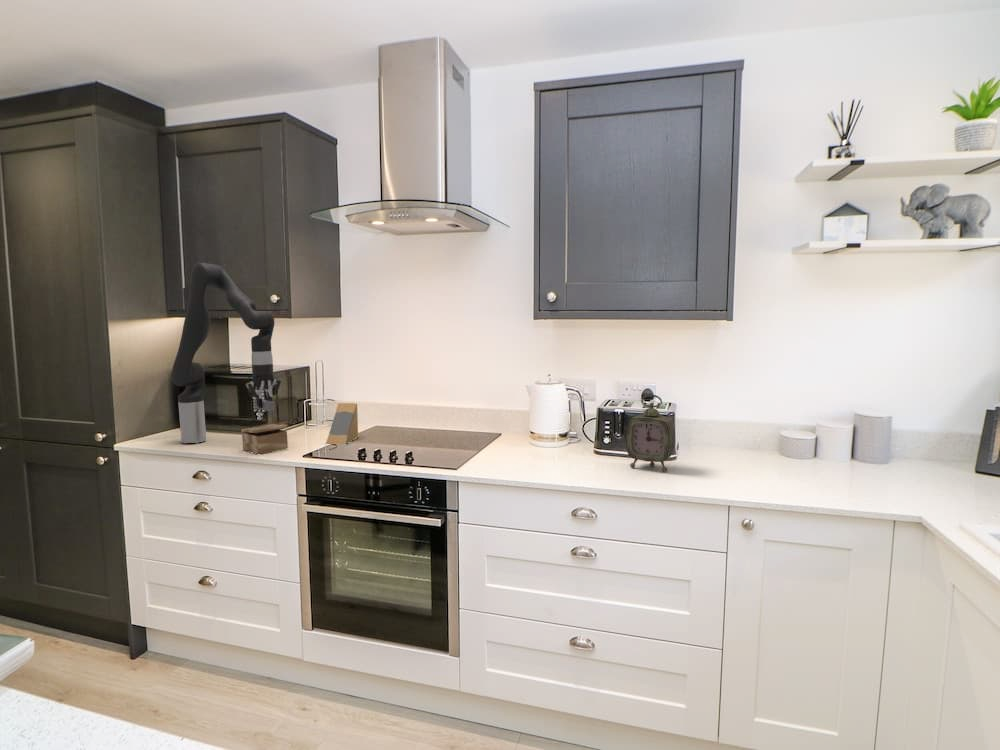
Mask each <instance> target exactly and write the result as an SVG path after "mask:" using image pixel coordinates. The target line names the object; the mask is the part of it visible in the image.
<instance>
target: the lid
mask: <svg viewBox="0 0 1000 750" xmlns="http://www.w3.org/2000/svg"><path fill="white" fill-rule="evenodd" d="M286 428H288V424H273V423H272V424H271V423H270V424H265V425H260V426H253V427H248V428H243V429H241V430H240V431H241V433H243V432H250V433H259V432H265V431H270V430H276V429H279V430H282V429H286Z"/></svg>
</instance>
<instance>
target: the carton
mask: <svg viewBox="0 0 1000 750" xmlns="http://www.w3.org/2000/svg"><path fill="white" fill-rule="evenodd" d="M241 438H242V450H243V451H244V450H246V451H245V452H247V451H250V452H249V453H251V452H253V453H252V454H254V453H256V454H255V455H257V454H261V455H263V454H262V453H265V454H267V453H266V452H270V453H273V452H272V451H275V452H277V451H276V450H280V451H283V450H282V449H284V450H288V449H289V446H288V431H287V430H283V429H276V430H270V431H265V432H259V433H250V432H241ZM287 448H288V449H287Z"/></svg>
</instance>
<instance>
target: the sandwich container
mask: <svg viewBox="0 0 1000 750" xmlns="http://www.w3.org/2000/svg"><path fill="white" fill-rule="evenodd" d="M335 409H336V410H335V413H334V417H333V420H332V424H331V427H330V429H329V432H328V436H327V439H326V442H325V445H326V444H346V443H348V442H350V441H351V440H353V439H354V438H356V437H357V436H358V437H359V427H358V426H359V420H358V418H359V417H358V403H354V402H353V403H351V402H350V403H349V402H338V403H337V406H336V408H335ZM356 439H357V438H356ZM353 441H354V440H353ZM350 443H351V442H350ZM348 444H349V443H348ZM346 445H347V444H346Z"/></svg>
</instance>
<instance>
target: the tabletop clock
mask: <svg viewBox="0 0 1000 750" xmlns="http://www.w3.org/2000/svg"><path fill="white" fill-rule="evenodd" d="M648 397H653V398H656V399H658V400H659V401H660V403H659V404H656V405H654V403H653V402H650V403H649V404H647V403H644V402H643V401H644V399H645V398H648ZM640 402H641V404H642V405H643V406H644V407H646V409H645V410H644V411H643V413H642V414H637V415H635V416H633V417H632V418H630V419H629V420H628V422H627V426H626V430H625V447H626V452H627V454H628V457H630V458H632V459H634V461H633V462H632V463H631V462H630V464H629V466H630V468H633V469H634V468H636V463H637V461H638V460H639V461H644V462H649V466H650V467H651V468H653V467H655V462H656V463H657V462H659V463H661V466H662V467H661V470H662V472H663V473H667V471H668V468H667V467H665V461H667V460H668V459H669V458H670V457H671V456H672V455H673V453H674V449H675V442H676V432H675V431H676V428H675V422H674V420H673V419H672V418H671V417H669V416H665V415H660V412H659V411H658V409H656V408H657V407H660V406H661V405H662V404H663V400H662V398H661V397H660V396H658V395H656V394H646V395H644V396H642V397H641V399H640Z"/></svg>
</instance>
